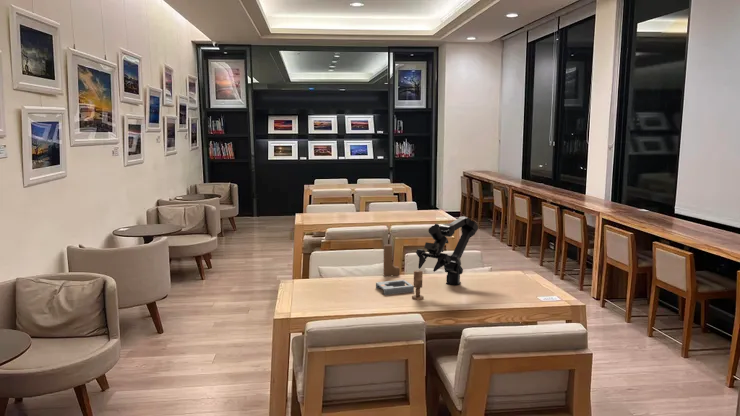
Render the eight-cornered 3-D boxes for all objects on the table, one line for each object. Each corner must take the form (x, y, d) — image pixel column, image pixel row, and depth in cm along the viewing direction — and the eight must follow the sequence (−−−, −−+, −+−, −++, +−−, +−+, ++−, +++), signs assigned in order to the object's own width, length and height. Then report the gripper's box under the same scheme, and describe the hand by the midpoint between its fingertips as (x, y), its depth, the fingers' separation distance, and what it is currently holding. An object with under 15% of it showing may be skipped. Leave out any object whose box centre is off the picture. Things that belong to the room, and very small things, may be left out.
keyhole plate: (404, 285, 297) (404, 279, 296) (413, 291, 284) (413, 285, 284) (375, 287, 291) (375, 282, 291) (384, 294, 279) (384, 288, 279)
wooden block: (398, 273, 319) (398, 244, 317) (399, 275, 315) (399, 245, 312) (383, 274, 319) (383, 244, 316) (384, 276, 314) (384, 245, 312)
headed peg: (425, 297, 275) (426, 270, 273) (420, 300, 270) (421, 273, 268) (415, 295, 278) (415, 269, 276) (409, 298, 273) (410, 271, 271)
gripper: (418, 234, 285) (405, 258, 278) (448, 238, 273) (435, 264, 266) (426, 246, 292) (414, 270, 285) (456, 251, 280) (443, 276, 273)
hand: (426, 269), depth 277 cm, fingers open, 9 cm apart
